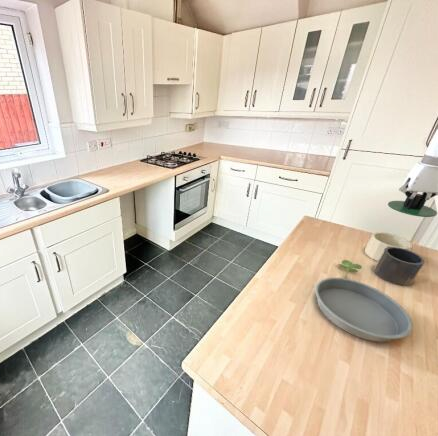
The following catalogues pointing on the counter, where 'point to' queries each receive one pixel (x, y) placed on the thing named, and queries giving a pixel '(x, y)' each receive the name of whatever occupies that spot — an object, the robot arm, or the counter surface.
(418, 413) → the counter surface
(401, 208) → the lid
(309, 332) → the counter surface
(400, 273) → the cup
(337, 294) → the cake pan
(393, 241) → the tin
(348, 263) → the seedling
